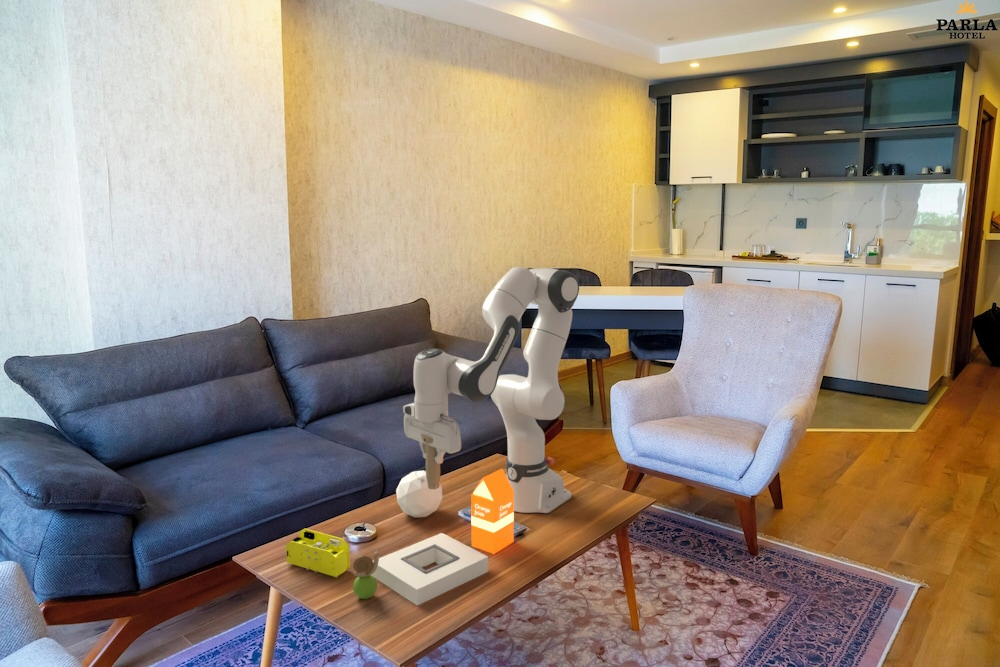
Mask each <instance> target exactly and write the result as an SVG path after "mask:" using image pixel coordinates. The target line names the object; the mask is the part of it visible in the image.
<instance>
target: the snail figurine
mask: <svg viewBox="0 0 1000 667" xmlns="http://www.w3.org/2000/svg"><path fill="white" fill-rule="evenodd" d="M377 550H378V551H375V552H374V554H373V557H374V559H372V557H370V556H368V555H359V556H357V557H356V558H355V559H354V561H353V564H352V567H353V569H354V571H355V572H353V575H354V576H356V578H355V580H354V581H353V586H352V588H353V593H354V594H355V596H356V597H358V598H360V599H362V600H368V599H369V598H371V597H373V596H374V595H375V594H376V592H377V589H378V582H377V579H376V578H374V577H373V576H372V574H373V573H374V572H375V570H376V569H377V566H378V562H379V558H381V552H380V551H381V548H380V546H377ZM373 561H374V562H373Z"/></svg>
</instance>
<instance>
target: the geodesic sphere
mask: <svg viewBox="0 0 1000 667" xmlns="http://www.w3.org/2000/svg"><path fill="white" fill-rule="evenodd" d="M442 490H443V488H442V485H441V482H439V488H437V489H429V488H428V482H427V479H426V470H425V469H423V470H415V471H411V472H409V474H407V475H405V476H403V477H402V478H401V480H400V481H399V484H398V486H397V488H396V489H395V493H396V501H397V503H398V505H399V507H400V509H401V511H402V512H403V513H405V514H407V515H408V516H410V517H412V518H414V519H415V518H426V517H428V516H430V515H431V514H433V513H434V512H436V511H437V510H438V509H439V507H440V504H441V502H442V500H443V499H444V498H443V491H442Z"/></svg>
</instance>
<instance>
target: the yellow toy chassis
mask: <svg viewBox="0 0 1000 667" xmlns="http://www.w3.org/2000/svg"><path fill="white" fill-rule="evenodd" d="M285 551H286V552H285V555H286V563H287V564H291V565H293V566H297V567H301V568H305V569H306V570H307V571H309V570H311V571H314V572H315V573H321V574H325V575H327V576H331V577H334V578H338V577H339V576H341V575H342V574H343V573H345V572H346V571H347V570H349V569H350V565H351V564H350V563H351V562H350V545H349V544H348V543H347V542H346V540H344V538H342V537H338V536H334V535H330V534H327V533H323V532H320V531H315V530H312V529H308V528H303V529H301V530H300V531H298V536H297V537H295V538H294V539H292V540H290V541H289V542H287V543H286V544H285Z"/></svg>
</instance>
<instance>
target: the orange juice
mask: <svg viewBox="0 0 1000 667" xmlns="http://www.w3.org/2000/svg"><path fill="white" fill-rule="evenodd" d="M470 495H471V496H470V497H471V498H470V500H471V501H470V502H471V505H470V508H471V510H470V511H471V512H470V513H471V516H470V518H471V519H470V520H471V522H470V523H471V524H470V526H471V546H472V547H474V548H476V549H479V550H481V551H484V552H487V553H491V554H493V555H495V554H496V553H498V552H500V551H501V550H503V549H505V548H506V547H508V546H509V545H511V544H512V543H514V542H515V540H514V538H515V537H514V534H515V533H514V530H515V528H514V527H515V525H514V522H515V520H514V519H515V516H514V515H515V514H514V513H515V511H514V491H513V489H512V487H511V485H510V483H509V481H508V479H507V477H506V473H505V471H504V469H503V468H500V469H498V470H496V471H494V472H492V473H490V474H488V475H486V476H484V477H482V478H481V480H480V481H479V483H478V485H477V486H476V487H475V489H474V491H473V492H472V494H470Z"/></svg>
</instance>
